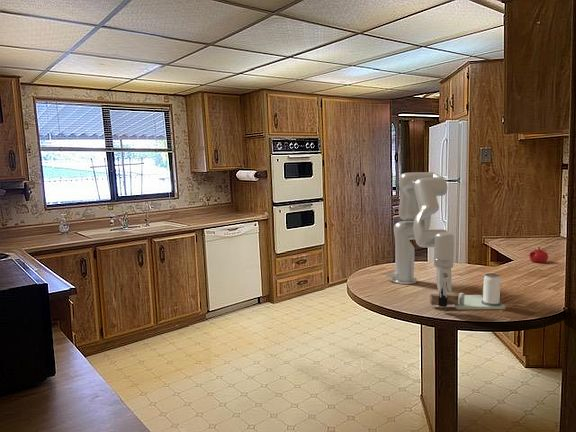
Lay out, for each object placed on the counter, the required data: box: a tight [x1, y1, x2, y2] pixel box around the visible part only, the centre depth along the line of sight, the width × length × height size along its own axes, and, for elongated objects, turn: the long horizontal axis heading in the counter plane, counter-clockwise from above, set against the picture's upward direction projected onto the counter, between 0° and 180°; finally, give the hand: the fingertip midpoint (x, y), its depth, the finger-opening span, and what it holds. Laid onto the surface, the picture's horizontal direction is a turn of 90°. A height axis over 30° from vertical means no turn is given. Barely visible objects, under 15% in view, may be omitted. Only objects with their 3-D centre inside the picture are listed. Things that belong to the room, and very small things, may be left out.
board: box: [452, 282, 506, 310], centre depth 191 cm, size 20×16×7 cm
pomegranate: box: [528, 246, 549, 264], centre depth 263 cm, size 10×10×9 cm
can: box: [482, 272, 501, 304], centre depth 187 cm, size 6×6×12 cm
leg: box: [429, 293, 460, 306], centre depth 187 cm, size 11×2×4 cm, turn 88°
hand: (442, 305), depth 181 cm, fingers closed
